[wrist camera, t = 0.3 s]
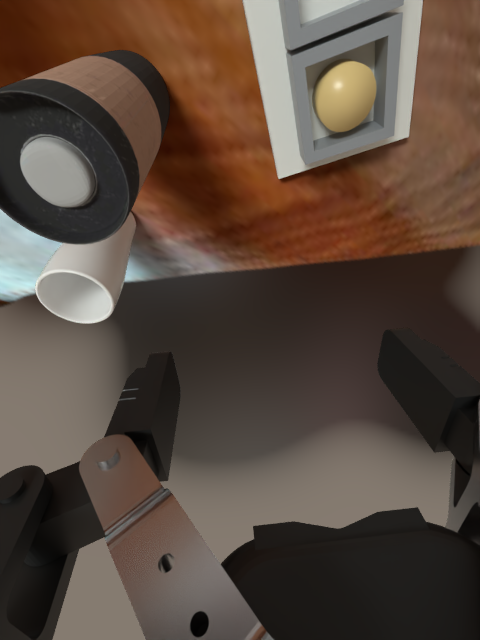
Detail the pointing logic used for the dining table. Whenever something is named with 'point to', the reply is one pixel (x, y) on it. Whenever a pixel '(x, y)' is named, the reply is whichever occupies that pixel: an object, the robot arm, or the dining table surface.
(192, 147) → the dining table surface
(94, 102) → the travel mug
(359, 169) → the dining table surface
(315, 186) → the dining table surface
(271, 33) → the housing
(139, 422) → the robot arm
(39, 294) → the white cylinder
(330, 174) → the dining table surface
